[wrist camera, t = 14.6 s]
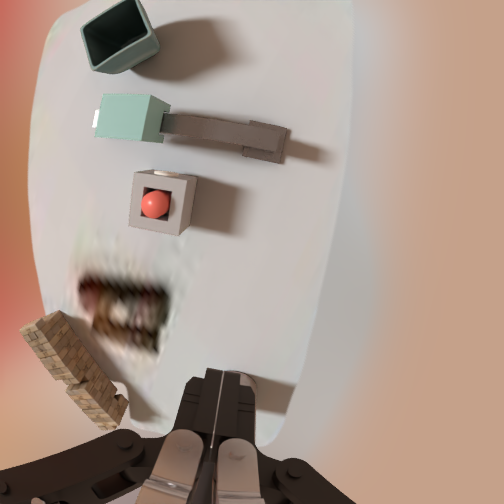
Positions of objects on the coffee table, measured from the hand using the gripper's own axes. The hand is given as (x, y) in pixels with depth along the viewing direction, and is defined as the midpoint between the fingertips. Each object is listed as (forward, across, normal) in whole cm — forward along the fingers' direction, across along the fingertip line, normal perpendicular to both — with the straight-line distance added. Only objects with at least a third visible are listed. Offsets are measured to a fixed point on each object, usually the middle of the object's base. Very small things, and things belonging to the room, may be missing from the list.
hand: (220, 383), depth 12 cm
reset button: (+28, +12, -2) cm, 30 cm away
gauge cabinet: (+30, +12, -2) cm, 32 cm away
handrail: (+30, +10, -12) cm, 34 cm away
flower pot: (+30, +21, -25) cm, 44 cm away
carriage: (+26, +15, -13) cm, 32 cm away
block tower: (+31, +30, +36) cm, 56 cm away
